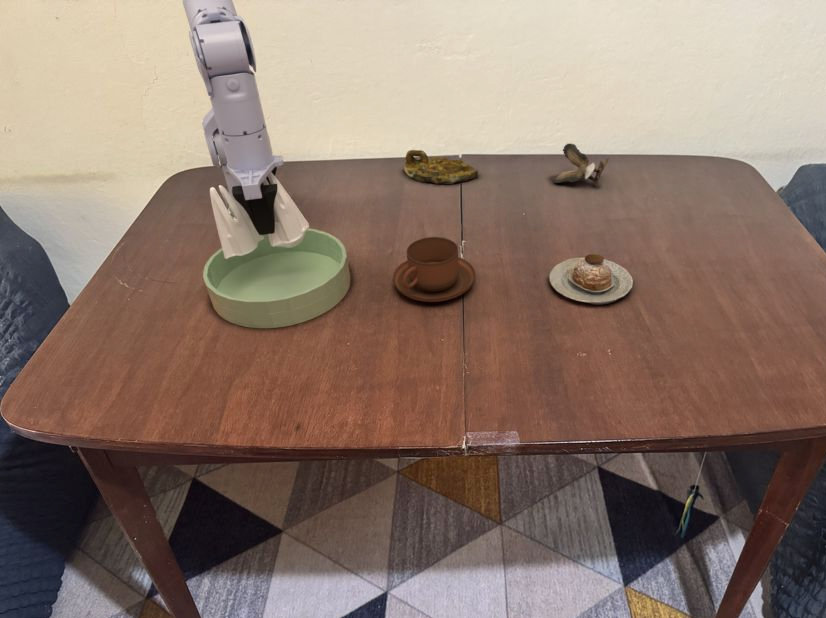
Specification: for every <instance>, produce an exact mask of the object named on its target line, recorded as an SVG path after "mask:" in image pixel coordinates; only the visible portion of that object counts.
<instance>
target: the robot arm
mask: <svg viewBox="0 0 826 618" xmlns="http://www.w3.org/2000/svg"><path fill="white" fill-rule="evenodd" d="M182 6H183V9H184V12H185V16H186V18H187V19H186V20H187V22H188V25H189V26H188V27H189V29H190V30H188V37H189V41H190V44H191V48H192V52H193V56H194V59H195V62H196V66H197V69H198V72H199V74H200V76H201V78H202V81H203V83H204V86H205V89H206V92H207V95H208V97H210V98H209V100H210V103H211V109H210V110H209V111H208V112H207V113H206V114H205V116H204V117H203V118H202V122H201V125H202V128H203V135H204V138H205V139H204V140H205V142H206V146H207V149H208V153H209V157H210V160H211V163H212V165H213V166H214V167H216V169H221V171H222V173H223V175H224V179H225V183H226V187H227V191H228V192H229V193H230V194H231V195H232V197H233V198H234V199H235V200H236V202H237V203H238V204H239V205H240V207H241V208H242V209H243V210H244V212H245V213H246V214H247V215H248V217H249V218H250V219H251V221H252V223H253V225H254V227H255V229H256V231H257V232H258V234H259V235H266V234H273V233H274V232H275V218H274V201H275V197H276V194H277V189H278V187H277V184H271V183H270V181H269V178H268V175H269V174H270V172H272V173H273V175H274V176H275V177H276V173H277V170H278V167H281V166H283V165H284V157H283V155H281V154H279V155H278V154H277V155H275V154H274V155H273V148H272V144H271V140H270V135H269V133H268V129H267V124H266V123H267V122H266V119H265V116H264V110H263V107H262V102H261V97H260V93H259V88H258V84H257V80H256V76H255V73H257V60H256V53H255V49H254V44H253V41H252V38H251V37H252V36H251V34H250V31H249V29H248V26H247V24H246V22H245V20H244V18H243V17H242V16H241V15H238V13H237V10H236V7H235V4H234V2H233V0H182ZM251 68H252V69H253V71H252V70H251ZM265 179H267V181H268V183H269V185H263V183H262V182H263V181H264V180H265Z"/></svg>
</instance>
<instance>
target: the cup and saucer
mask: <svg viewBox="0 0 826 618" xmlns="http://www.w3.org/2000/svg"><path fill="white" fill-rule="evenodd" d="M458 246H459V245H457V243H456V242H454V241H453V240H452V239H449V238H446V237H441V236H430V237H429V236H428V237H422V238H420V239H417V240H415V241H413V242H411V243H410V244H409V245H408V246H407V248H406V259H407V260H406V261H404V262H402V263H401V264H399V265H398V266H397V268H396V269H395V271H394V272H393V275H392V281H393V284H394V286H395V288H396V289H397V291H398V292H399V293H400V294H402V295H403V296H406V298H409V299H410V300H411V299H412V300H415V301H418V302H423V303H424V302H425V303H440V302H446V301H450V300H453V299H455V298H458V297H459V296H461V295H463V294H465V293H466V292H467V291H468V290H470V289H471V288H472V286H473V284H474V282H475V279H476V271H475V268H474V267H473V265H472V264H471V263H470V262H469V261H467V260H466V259H464V258H462V257H459V247H458Z"/></svg>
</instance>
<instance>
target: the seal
mask: <svg viewBox="0 0 826 618" xmlns="http://www.w3.org/2000/svg"><path fill="white" fill-rule="evenodd" d="M415 157H418V158H419V159H417V158H415ZM403 169H404V170H403V171H404V173H405V174H406V176H407V177H409V179H410V178H411V179H412V180H415V181H417V182H421V183H432V184H437V185H438V184H440V185H451V184H455V183H461V182H467V181H469V180H472V179H475V178H476V177H477V176H478V175H479V171H478V170H477V169H476V168H475V167H473V166H472V165H470V164H469V163H466V162H464V161H463V160H461V159H456V160H455V159H449V158H447V157H443V158H442V157H434V156H431V157H430V158H429V156H428V155H427V153H426V152H425V151H424V150H421V149H418V150H416V149H411V150H410V149H409V150H408V151H407V152H406V154H405V162H404V164H403Z"/></svg>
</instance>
